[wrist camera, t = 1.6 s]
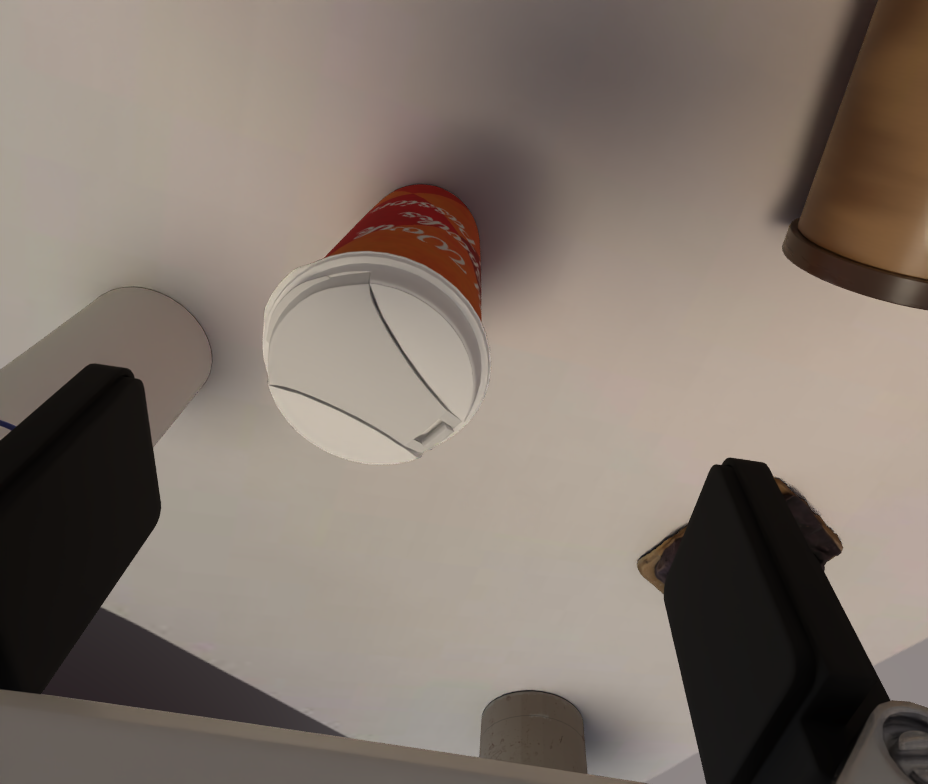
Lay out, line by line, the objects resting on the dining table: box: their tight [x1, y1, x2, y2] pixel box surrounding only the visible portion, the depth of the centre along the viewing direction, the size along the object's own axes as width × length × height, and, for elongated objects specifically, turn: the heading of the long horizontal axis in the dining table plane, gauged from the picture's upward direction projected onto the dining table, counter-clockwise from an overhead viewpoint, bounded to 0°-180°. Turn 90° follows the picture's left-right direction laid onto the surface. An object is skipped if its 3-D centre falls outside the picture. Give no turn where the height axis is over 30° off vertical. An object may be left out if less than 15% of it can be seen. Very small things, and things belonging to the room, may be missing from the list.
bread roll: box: [637, 477, 843, 594], centre depth 41 cm, size 11×8×4 cm
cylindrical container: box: [0, 287, 212, 447], centre depth 27 cm, size 7×7×25 cm
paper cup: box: [262, 184, 491, 465], centre depth 27 cm, size 8×8×14 cm
